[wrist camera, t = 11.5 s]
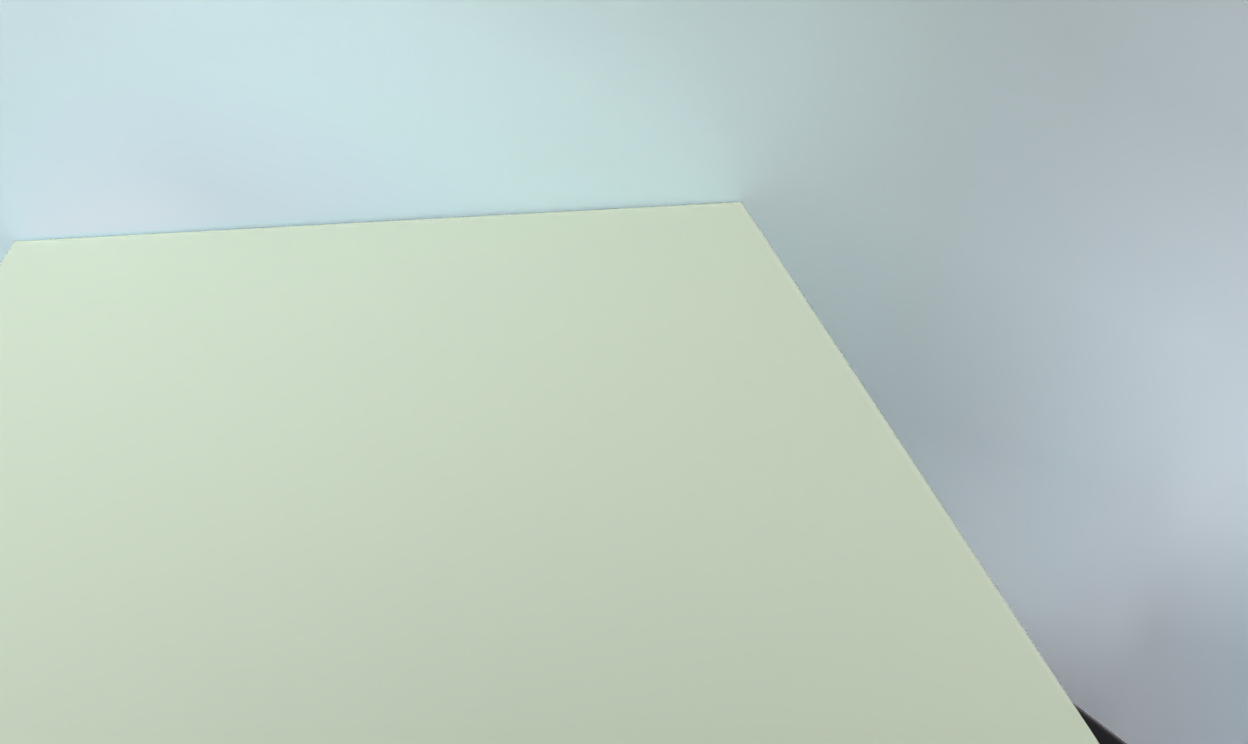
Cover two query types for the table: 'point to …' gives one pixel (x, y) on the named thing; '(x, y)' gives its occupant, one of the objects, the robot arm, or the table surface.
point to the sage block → (472, 499)
